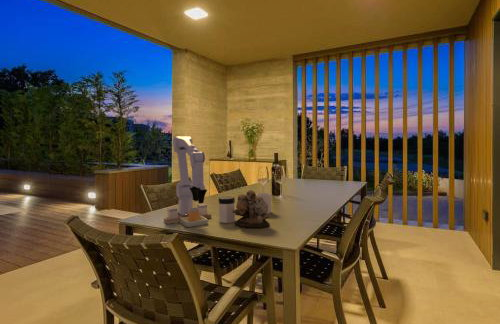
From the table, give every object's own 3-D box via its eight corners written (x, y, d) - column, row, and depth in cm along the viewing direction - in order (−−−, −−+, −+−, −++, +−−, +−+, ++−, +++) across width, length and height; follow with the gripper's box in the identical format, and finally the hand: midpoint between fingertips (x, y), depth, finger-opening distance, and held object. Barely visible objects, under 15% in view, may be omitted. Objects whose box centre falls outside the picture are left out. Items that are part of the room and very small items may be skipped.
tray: (180, 222, 155) (180, 217, 155) (200, 219, 160) (200, 215, 160) (187, 227, 146) (186, 222, 145) (208, 224, 151) (208, 219, 151)
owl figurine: (229, 228, 144) (228, 191, 143) (236, 222, 155) (235, 188, 154) (267, 229, 140) (266, 192, 139) (271, 223, 151) (271, 188, 150)
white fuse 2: (197, 217, 166) (197, 204, 165) (204, 216, 168) (204, 203, 167) (200, 219, 162) (199, 205, 162) (207, 218, 164) (207, 204, 164)
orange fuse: (188, 222, 154) (188, 208, 153) (196, 221, 155) (196, 207, 155) (191, 224, 150) (190, 209, 150) (199, 222, 152) (198, 208, 152)
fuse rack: (163, 221, 158) (163, 217, 158) (206, 215, 170) (206, 211, 170) (167, 224, 152) (167, 220, 152) (211, 218, 164) (211, 214, 163)
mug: (272, 211, 177) (271, 193, 177) (270, 214, 169) (269, 195, 169) (251, 210, 180) (250, 192, 179) (248, 213, 172) (248, 195, 171)
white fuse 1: (167, 221, 158) (167, 208, 157) (175, 220, 160) (175, 207, 159) (170, 223, 154) (169, 209, 154) (177, 222, 156) (177, 208, 156)
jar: (215, 221, 155) (214, 198, 155) (224, 218, 162) (223, 195, 162) (230, 223, 151) (229, 199, 150) (238, 220, 158) (238, 196, 157)
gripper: (185, 174, 161) (186, 200, 162) (194, 177, 148) (195, 205, 149) (198, 174, 164) (199, 199, 165) (208, 176, 152) (209, 203, 152)
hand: (198, 202), depth 157 cm, fingers open, 7 cm apart
